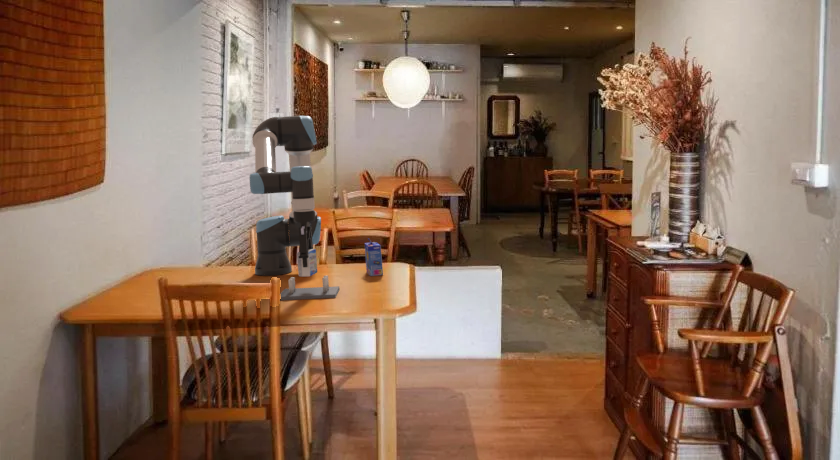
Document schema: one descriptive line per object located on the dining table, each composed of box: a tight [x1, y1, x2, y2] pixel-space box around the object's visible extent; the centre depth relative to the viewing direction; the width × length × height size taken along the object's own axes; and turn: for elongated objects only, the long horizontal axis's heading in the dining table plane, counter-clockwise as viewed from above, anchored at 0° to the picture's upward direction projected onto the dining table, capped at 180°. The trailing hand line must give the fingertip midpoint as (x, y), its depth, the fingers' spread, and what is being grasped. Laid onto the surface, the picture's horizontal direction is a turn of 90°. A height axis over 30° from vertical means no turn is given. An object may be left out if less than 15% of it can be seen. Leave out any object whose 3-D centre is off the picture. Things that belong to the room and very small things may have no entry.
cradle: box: [280, 275, 340, 301], centre depth 277 cm, size 14×20×6 cm
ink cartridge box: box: [364, 238, 384, 277], centre depth 312 cm, size 10×6×14 cm, turn 13°
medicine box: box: [296, 248, 318, 277], centre depth 276 cm, size 8×4×9 cm, turn 168°
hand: (308, 273), depth 277 cm, fingers closed on medicine box, 8 cm apart
